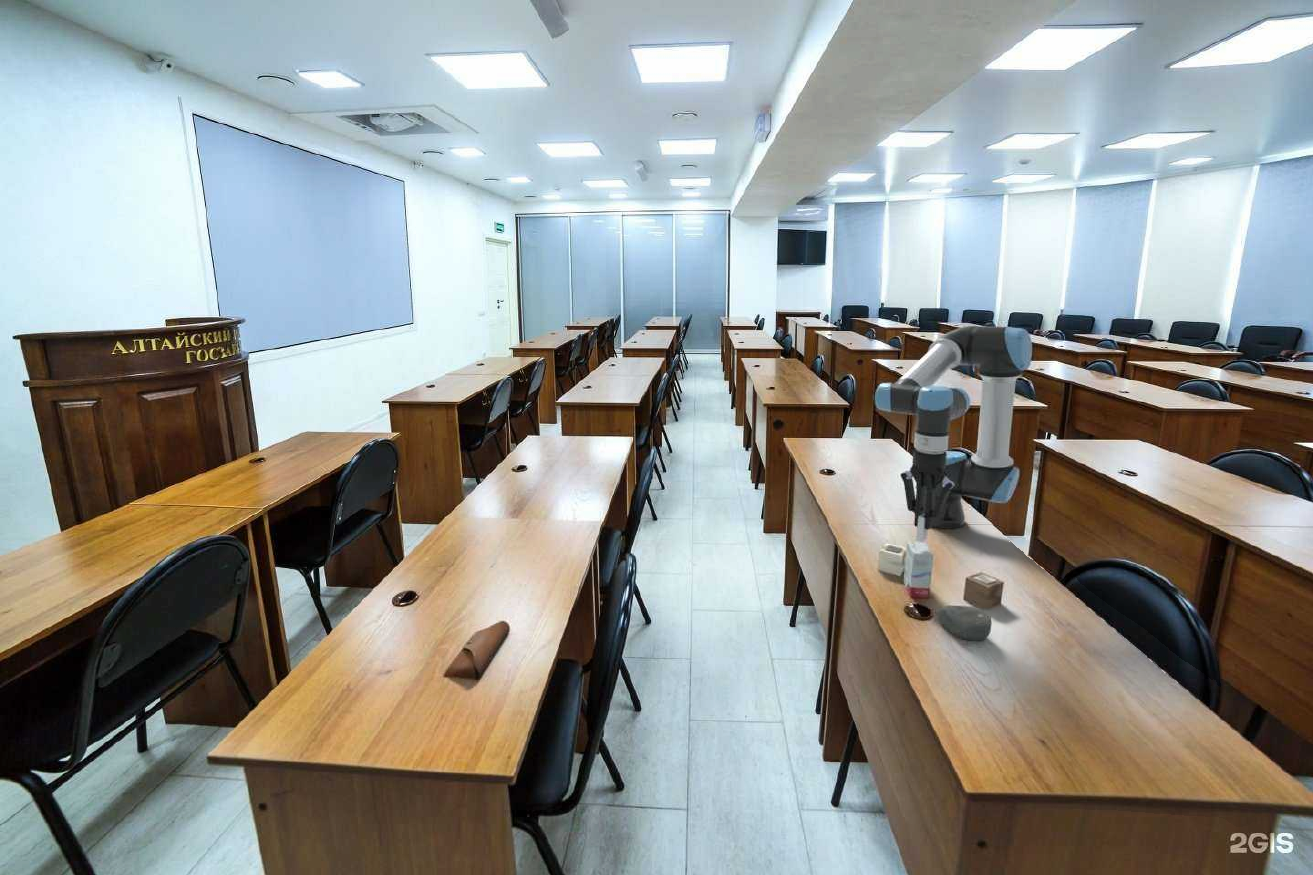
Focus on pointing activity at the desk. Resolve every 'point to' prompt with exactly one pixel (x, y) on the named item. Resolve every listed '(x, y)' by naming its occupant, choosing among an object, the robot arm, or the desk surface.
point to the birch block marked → (892, 559)
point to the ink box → (918, 569)
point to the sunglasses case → (478, 652)
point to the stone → (966, 622)
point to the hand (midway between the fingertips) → (921, 539)
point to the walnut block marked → (983, 590)
